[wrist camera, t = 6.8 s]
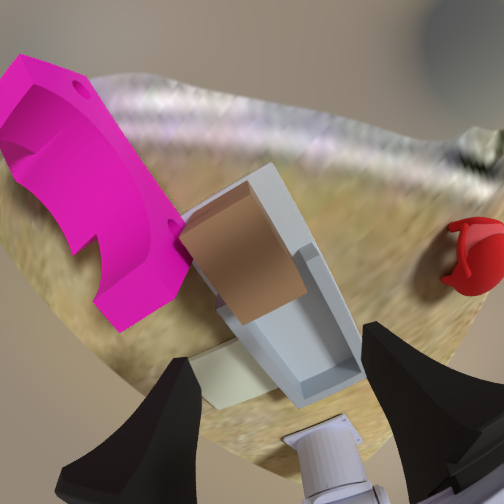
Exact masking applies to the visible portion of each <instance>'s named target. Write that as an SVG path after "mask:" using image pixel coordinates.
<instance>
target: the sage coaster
mask: <svg viewBox="0 0 504 504" xmlns="http://www.w3.org/2000/svg"><path fill="white" fill-rule="evenodd" d="M188 360H189V362H190V364H191V367H192V369H193V371H194V373H195V376H196V378H197V380H198V382H199V384H200V387H201V389H202V396H203V397H204V398H205V399H206V400H207V401H208V402H209V403H211V404H212V405H213V406H214V407H215V408H216V409H217V410H220V409H223V408H226V407H229V406H232V405H235V404H238V403H240V402H243V401H246V400H249V399H251V398H254V397H257V396H259V395H262V394H264V393H267V392H269V391H272V390H274V389H277V388H279V387H278V386H277V384H276V383H275V382H274V381H273V380H272V379H271V377H270V376H269V375H268V374H267V373H266V372H265V370H264V369H263V368H262V367H261V366H260V364H259V363H258V362H257V361H256V360H255V359H254V357H253V356H252V355H251V354H250V352H249V351H248V350H247V349H246V348H245V346H244V345H243V344H242V343H241V341H240V340H239V339H238V338H237V337H235V338H233V339H231V340H228V341H226V342H224V343H222V344H220V345H218V346H215V347H213V348H211V349H209V350H206V351H204V352H202V353H200V354H197V355H195V356H193V357H190V358H188Z"/></svg>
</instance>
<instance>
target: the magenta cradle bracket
mask: <svg viewBox="0 0 504 504" xmlns="http://www.w3.org/2000/svg"><path fill="white" fill-rule="evenodd" d="M0 149H1V152H2V154H3V156H4V158H5V160H6V162H7V165H8V167H9V169H10V171H11V173H12V175H13V177H14V179H15V181H16V182H18V183H19V184H21V185H22V186H24V187H25V188H27V189H28V190H29V191H30V192H32V193H33V194H34V195H35V196H36V197H37V198H38V199H39V200H40V201H41V202H42V203H43V204H44V205H45V206H46V208H47V209H48V210H49V211H50V213H51V214H52V215H53V217H54V218H55V220H56V221H57V223H58V224H59V226H60V228H61V229H62V231H63V233H64V235H65V237H66V239H67V241H68V244H69V246H70V249H71V252H72V255H73V256H74V255H75V254H77V253H78V252H79V251H81V250H82V249H84V248H85V247H87V246H88V245H90V244H91V243H93V242H94V241H96V240H97V239H98V242H99V246H100V252H101V260H102V274H101V281H100V285H99V289H98V292H97V294H96V296H95V298H94V300H93V303H94V304H95V305H96V306H97V308H98V309H99V310H100V311H101V312H102V313H103V315H104V316H105V317H106V318H107V319H108V320H109V322H110V323H111V324H112V325H113V326H114V327H115V328H116V329H117V331H118V332H119V333H121V332H123V331H124V330H126V329H127V328H129V327H130V326H132V325H134V324H135V323H137V322H138V321H140V320H142V319H143V318H145V317H146V316H148V315H149V314H151V313H153V312H154V311H156V310H157V309H159V308H161V307H162V306H164V305H165V304H167V303H168V302H170V301H172V300H173V299H175V298H176V295H177V293H178V291H179V289H180V287H181V285H182V283H183V280H184V278H185V276H186V274H187V272H188V270H189V268H190V266H191V264H192V261H193V257H192V256H191V254H190V253H189V252H188V250H187V249H186V247H185V246H184V244H183V243H182V242H181V240H180V239H179V236H180V234H181V232H182V231H183V229H184V227H185V226H186V223H185V221H184V220H183V219H182V217H181V216H180V214H179V213H178V212H177V210H176V209H175V208H174V206H173V205H172V203H171V202H170V201H169V199H168V198H167V196H166V195H165V193H164V192H163V191H162V189H161V188H160V186H159V185H158V184H157V182H156V181H155V179H154V178H153V176H152V175H151V174H150V172H149V171H148V169H147V168H146V166H145V165H144V163H143V162H142V160H141V159H140V158H139V156H138V155H137V153H136V152H135V150H134V149H133V147H132V146H131V144H130V143H129V141H128V140H127V138H126V137H125V135H124V134H123V132H122V131H121V129H120V128H119V126H118V125H117V123H116V122H115V120H114V119H113V117H112V116H111V114H110V113H109V111H108V110H107V108H106V107H105V105H104V104H103V102H102V100H101V99H100V97H99V96H98V94H97V93H96V91H95V90H94V88H93V86H92V85H91V83H90V82H89V80H88V78H87V77H86V76H84V75H81V74H79V73H76V72H73V71H70V70H68V69H65V68H62V67H59V66H56V65H53V64H51V63H48V62H44V61H41V60H39V59H35V58H32V57H29V56H26V55H22V54H19V55H18V57H17V58H16V59H15V60H14V62H13V63H12V64H11V65H10V67H9V68H8V69H7V71H6V72H5V73H4V75H3V76H2V77H1V79H0Z"/></svg>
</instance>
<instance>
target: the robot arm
mask: <svg viewBox="0 0 504 504" xmlns="http://www.w3.org/2000/svg"><path fill="white" fill-rule="evenodd" d="M361 362H362V365H363V368H364V371H365V374H366V377H367V379H368V381H369V383H370V385H371V387H372V389H373V391H374V393H375V395H376V397H377V399H378V401H379V403H380V405H381V407H382V409H383V411H384V413H385V415H386V417H387V419H388V422H389V424H390V427H391V429H392V432H393V435H394V438H395V441H396V445H397V448H398V451H399V455H400V458H401V462H402V466H403V470H404V475H405V479H406V484H407V490H408V496H409V503H410V504H504V384H498V383H493V382H489V381H485V380H481V379H478V378H475V377H472V376H469V375H466V374H463V373H461V372H458V371H456V370H453V369H451V368H449V367H447V366H445V365H443V364H441V363H439V362H437V361H435V360H433V359H431V358H430V357H428V356H426V355H425V354H423V353H421V352H420V351H418V350H417V349H415V348H413V347H412V346H410V345H409V344H407V343H406V342H405V341H403V340H402V339H400V338H399V337H398V336H396V335H395V334H393V333H392V332H391V331H389V330H388V329H387V328H385V327H384V326H383V325H381V324H380V323H378V322H377V321H375V322H371V323H368V324H364V325H363V334H362V349H361ZM201 410H202V389H201V387H200V384H199V382H198V380H197V378H196V376H195V373H194V371H193V369H192V367H191V364H190V362H189V360H188V358H187V357H180V358H173V359H172V361H171V362H170V364H169V365H168V367H167V368H166V370H165V371H164V372H163V374H162V375H161V377H160V378H159V380H158V381H157V383H156V384H155V386H154V387H153V388H152V390H151V391H150V393H149V394H148V395H147V397H146V398H145V399H144V401H143V402H142V403H141V404H140V406H139V407H138V408H137V409H136V411H135V412H134V413H133V414H132V415H131V417H130V418H129V419H128V420H127V421H126V422H125V423H124V424H123V425H122V426H121V427H120V428H119V429H118V430H117V431H116V432H114V433H113V434H112V435H111V436H110V437H109V438H107V439H106V440H105V441H104V442H103V443H101V444H100V445H99V446H97V447H96V448H95V449H94V450H92V451H91V452H89V453H87V454H86V455H85V456H83V457H81V458H80V459H78V460H76V461H74V462H72V463H70V464H69V465H67V466H65V467H63V468H62V470H61V473H60V476H59V479H58V482H57V485H56V488H55V494H56V495H57V496H58V497H59V498H60V499H62V500H63V501H65V502H66V503H68V504H197V497H196V466H195V465H196V463H195V462H196V449H197V441H198V434H199V426H200V419H201ZM283 441H284V442H285V443H286V444H288V445H289V446H290V447H291V448H293V449H294V450H295V451H296V452H297V454H298V459H299V465H300V471H301V477H302V483H303V488H304V495H305V499H303V500H302V503H303V504H390V501H389V499H388V496H387V493H386V491H385V489H384V488H383V487H381V486H379V485H374V486H371V482H370V481H368V479H367V476H366V473H365V469H364V466H363V463H362V460H361V457H360V454H359V451H358V448H357V445H358V444H360V443H362V442H363V439H362V438H361V436H360V435H359V433H358V432H357V431H356V429H355V428H354V426H353V425H352V423H351V422H350V420H349V419H348V418H347V416H346V415H345V414H341V415H339V416H337V417H334V418H332V419H330V420H327V421H325V422H323V423H320V424H318V425H315V426H313V427H310V428H308V429H305V430H302V431H300V432H297V433H294V434H291V435H289V436H286V437H284V438H283Z"/></svg>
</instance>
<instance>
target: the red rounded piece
mask: <svg viewBox="0 0 504 504" xmlns="http://www.w3.org/2000/svg"><path fill="white" fill-rule="evenodd" d="M448 229H449V231H450V232H457V231H460V233H459V237H458V242H457V258H458V263H457V264H456V266H455V268H454V270H453V273H452V275H448V276H444V277H442V278H441V282H442V283H444V284H446V285H449V286H453V287H454V288H455V290H456V291H457V292H459V293H460V294H462V295H465V296H478V295H481V294H484V293H486V292H488V291H489V290H491V289H492V288H494V287H495V286H496V285H497V284H498V283H499V282H500V281H501V280H502V278H503V277H504V224H503V223H502V222H501V221H498V220H495V219H491V218H486V217H471V218H466V219H462V220H459V221H455V222H451V223H450V224H449V227H448Z"/></svg>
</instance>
